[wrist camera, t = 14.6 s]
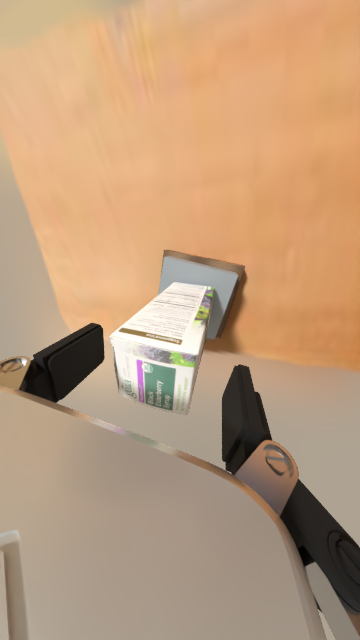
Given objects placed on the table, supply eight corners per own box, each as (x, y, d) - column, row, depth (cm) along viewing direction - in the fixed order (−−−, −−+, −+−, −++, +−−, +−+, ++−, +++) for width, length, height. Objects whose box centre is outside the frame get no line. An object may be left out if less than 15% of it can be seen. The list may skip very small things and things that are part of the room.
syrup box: (208, 324, 24) (192, 421, 11) (170, 317, 25) (115, 398, 12) (215, 286, 21) (203, 357, 8) (172, 280, 22) (103, 335, 9)
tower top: (236, 272, 23) (238, 275, 20) (214, 331, 27) (214, 340, 24) (170, 256, 24) (164, 256, 21) (160, 315, 28) (153, 321, 26)
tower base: (242, 264, 25) (245, 266, 22) (220, 330, 30) (220, 338, 27) (169, 250, 27) (164, 249, 24) (160, 314, 32) (155, 320, 29)
